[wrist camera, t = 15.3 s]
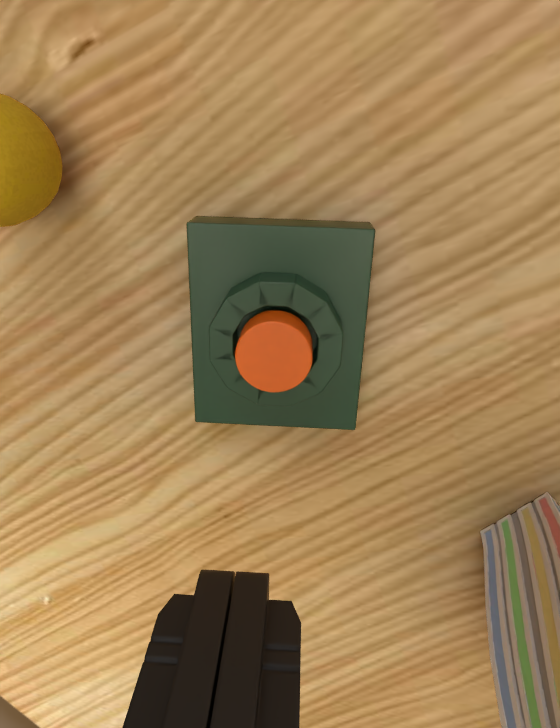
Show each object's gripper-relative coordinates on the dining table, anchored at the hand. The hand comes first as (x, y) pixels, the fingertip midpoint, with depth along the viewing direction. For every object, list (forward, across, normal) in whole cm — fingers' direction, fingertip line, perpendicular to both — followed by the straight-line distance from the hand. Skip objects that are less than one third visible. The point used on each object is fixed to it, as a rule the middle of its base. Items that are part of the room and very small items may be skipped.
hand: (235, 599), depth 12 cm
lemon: (+19, +13, -8) cm, 24 cm away
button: (+15, 0, 0) cm, 15 cm away
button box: (+19, 0, 0) cm, 19 cm away
